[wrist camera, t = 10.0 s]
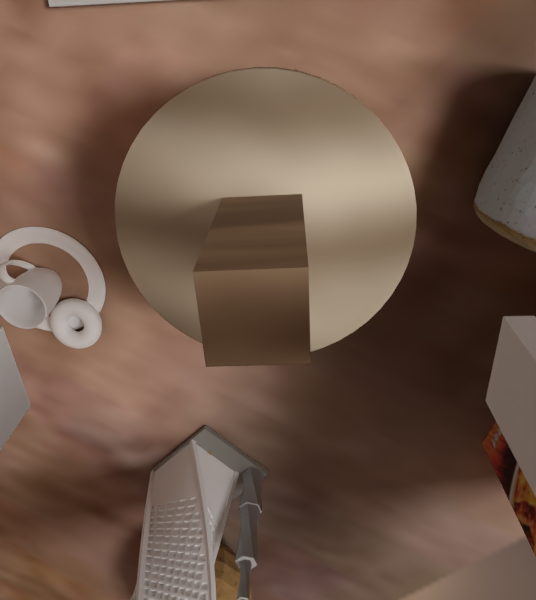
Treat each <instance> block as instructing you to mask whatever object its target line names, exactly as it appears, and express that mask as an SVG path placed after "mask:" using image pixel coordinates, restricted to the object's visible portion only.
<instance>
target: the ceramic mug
mask: <svg viewBox="0 0 536 600" xmlns="http://www.w3.org/2000/svg"><path fill="white" fill-rule="evenodd" d="M474 209H475V212H476V214H477V216H478V217H479V219H480V220H481V221H482V222H483V223H484V224H486V225H487V226H488V227H489V228H491V229H492V230H494V231H495V232H497V233H498V234H500V235H501V236H503V237H505V238H507V239H509V240H510V241H512V242H514V243H516V244H518V245H520V246H522V247H524V248H527V249H529V250H531V251H534V252H536V75H535V77H534V79H533V81H532V83H531V85H530V87H529V89H528V91H527V93H526V95H525V97H524V99H523V100H522V102H521V104H520V106H519V108H518V110H517V112H516V113H515V115H514V117H513V119H512V121H511V123H510V125H509V127H508V129H507V131H506V133H505V135H504V137H503V139H502V141H501V143H500V145H499V147H498V149H497V151H496V153H495V155H494V157H493V158H492V160H491V162H490V164H489V165H488V167H487V169H486V171H485V173H484V175H483V177H482V179H481V182H480V184H479V187H478V190H477V193H476V196H475V200H474Z"/></svg>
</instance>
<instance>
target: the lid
mask: <svg viewBox="0 0 536 600" xmlns="http://www.w3.org/2000/svg"><path fill="white" fill-rule="evenodd" d="M416 220H417V206H416V198H415V190H414V186H413V182H412V178H411V175H410V171H409V168H408V166H407V163H406V161H405V159H404V156H403V154H402V152H401V150H400V148H399V147H398V145H397V143H396V142H395V140H394V138H393V137H392V135H391V134H390V132H389V131H388V130H387V128H386V127H385V126H384V125H383V124H382V123H381V121H380V120H379V119H378V118H377V117H376V115H374V114H373V113H372V112H371V111H370V110H369V109H368V108H367V107H366V106H364V105H363V104H362V103H361V102H360V101H359V100H358V99H357V98H355V97H354V96H352V95H351V94H349V93H348V92H346V91H345V90H343V89H342V88H340V87H339V86H337V85H335V84H332V83H330V82H328V81H326V80H324V79H322V78H320V77H317V76H314V75H310V74H307V73H304V72H301V71H296V70H290V69H284V68H277V67H253V68H246V69H239V70H233V71H229V72H226V73H222V74H219V75H215V76H212V77H210V78H208V79H206V80H204V81H201V82H199V83H197V84H195V85H193V86H191V87H189V88H188V89H186V90H184V91H183V92H181V93H180V94H178V95H177V96H175V97H174V98H172V99H171V100H169V101H168V102H167V103H166V104H165V105H164V106H163V107H161V108H160V109H159V110H158V111H157V112H156V113H155V114H154V115H153V116H152V117H151V118H150V120H149V121H148V122H147V123H146V124H145V125H144V127H143V128H142V129H141V131H140V132H139V134H138V135H137V137H136V138H135V140H134V142H133V143H132V145H131V147H130V149H129V151H128V153H127V156H126V158H125V160H124V162H123V165H122V168H121V172H120V175H119V179H118V182H117V189H116V196H115V226H116V233H117V240H118V244H119V247H120V251H121V254H122V258H123V260H124V262H125V265H126V267H127V269H128V272H129V274H130V276H131V278H132V279H133V281H134V283H135V284H136V286H137V288H138V290H139V291H140V292H141V294H142V295H143V296H144V298H145V299H146V300H147V301H148V303H149V304H150V305H151V306H152V307H153V308H154V309H155V310H156V311H157V312H158V313H159V314H160V315H161V317H163V318H164V319H165V320H166V321H168V322H169V323H170V324H171V325H172V326H174V327H175V328H176V329H178V330H179V331H181V332H183V333H184V334H186V335H187V336H189V337H191V338H193V339H195V340H197V341H199V342H201V343H203V349H204V356H205V363H206V367H214V366H250V365H287V364H311V355H310V352H311V351H314V350H317V349H321V348H324V347H326V346H328V345H330V344H333V343H335V342H337V341H339V340H341V339H343V338H344V337H346V336H348V335H349V334H351V333H353V332H354V331H356V330H357V329H358V328H360V327H361V326H362V325H364V324H365V323H366V322H367V321H369V320H370V319H371V318H372V317H373V316H374V315H375V314H376V313H377V312H378V311H379V310H380V309H381V308H382V306H383V305H384V304H385V303H386V301H387V300H388V299H389V298H390V296H391V295H392V293H393V292H394V290H395V289H396V287H397V285H398V284H399V282H400V280H401V278H402V276H403V274H404V272H405V270H406V267H407V265H408V263H409V259H410V256H411V252H412V249H413V246H414V239H415V233H416Z"/></svg>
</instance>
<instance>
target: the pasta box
mask: <svg viewBox="0 0 536 600" xmlns="http://www.w3.org/2000/svg"><path fill="white" fill-rule="evenodd" d="M482 444H483V446H484V449H485V451H486V453H487V455H488V457H489V459H490V461H491V463H492V465H493V468H494V470H495V472H496V474H497V476H498V478H499V480H500V482H501V484H502V486H503V489H504V491H505V493H506V495H507V497H508V499H509V501H510V503H511V505H512V507H513V510H514V512H515V514H516V516H517V518H518V520H519V522H520V524H521V526H522V528H523V531H524V533H525V535H526V537H527V539H528V541H529V543H530V545H531V547H532V549H533V552H534V554H535V556H536V497H535V495H534V493H533V491H532V489H531V488H530V486H529V484H528V482H527V480H526V478H525V476H524V474H523V472H522V470H521V468H520V466H519V464H518V462H517V461H516V459H515V457H514V455H513V453H512V451H511V449H510V447H509V445H508V443H507V441H506V439H505V437H504V436H503V434H502V432H501V430H500V428H499V426H498V424H497V422H495V424H494V425H493V427H492V429H491V430H490V432H489V433H488V435H487V437H486V438H485V440H484V441H483V443H482Z"/></svg>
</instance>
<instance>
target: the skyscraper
mask: <svg viewBox="0 0 536 600" xmlns="http://www.w3.org/2000/svg"><path fill="white" fill-rule="evenodd" d="M268 472H269V471H268V470H267V469H266V468H264V467H263V466H262V465H260V464H259V463H257V462H256V461H255V460H253V459H252V458H250V457H249V456H248V455H246V454H245V453H244V452H242V451H241V450H239V449H238V448H237V447H235V446H234V445H233V444H231V443H230V442H228V441H227V440H226V439H224V438H223V437H222V436H220V435H219V434H217V433H216V432H215V431H213V430H212V429H211V428H209V427H208V426H206V425H205V426H204V427H202V428H201V429H200V430H199V431H198V432H196V433H195V434H194V435H193V436H191V437H190V438H189V439H188V440H187V441H185V442H184V443H183V444H182V445H180V446H179V447H178V448H177V449H176V450H174V451H173V452H172V453H171V454H170V455H168V456H167V457H166V458H165V459H163V460H162V461H161V462H160V463H159V464H157V465H156V466H155V467H154V468H153V469H152V470H151V474H150V480H149V486H148V493H147V499H146V506H145V513H144V520H143V527H142V535H141V544H140V553H139V563H138V573H137V583H136V586H135V590H134V593H133V595H132V597H131V599H130V600H216V582H215V570H214V564H215V560H216V557H217V553H218V550H219V546H220V543H221V539H222V535H223V532H224V528H225V524H226V521H227V517H228V513H229V509H230V506H231V502H232V500H234V499H235V498H237V497H238V496H239V495H241V494H242V496H241V500H240V504H239V510H240V512H241V530H240V536H239V542H238V547H237V553H236V558H235V562H236V564H237V566H238V568H240V582H239V589H238V595H237V600H249V599H250V573H251V569H252V568H253V567H255V566H256V565H257V526H258V521H259V515H260V513H262V498H261V486H262V482H263V478H264V477H266V476H267V475H268Z"/></svg>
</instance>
